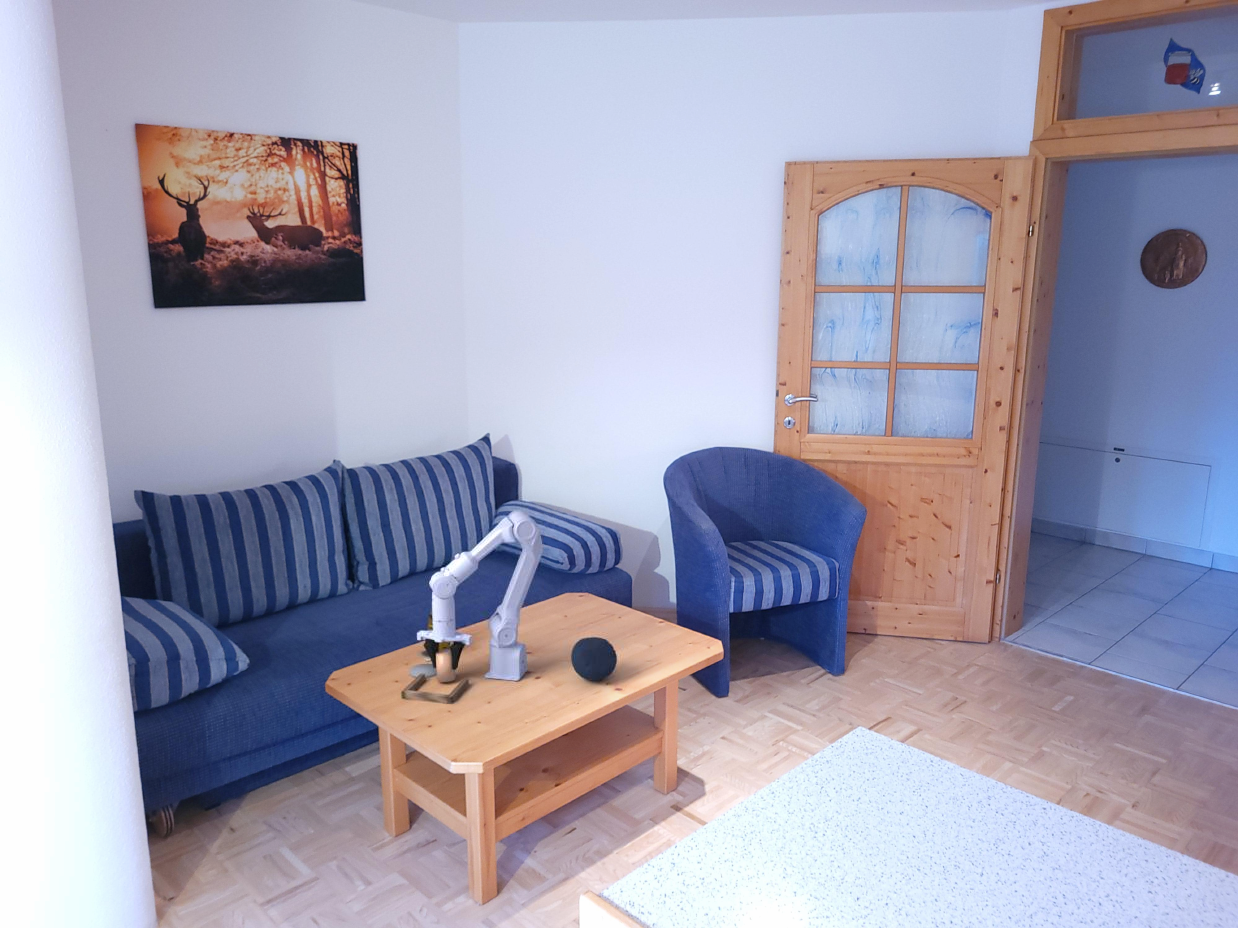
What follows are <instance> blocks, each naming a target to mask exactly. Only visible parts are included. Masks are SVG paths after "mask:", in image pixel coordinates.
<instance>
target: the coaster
mask: <svg viewBox="0 0 1238 928" xmlns="http://www.w3.org/2000/svg"><path fill="white" fill-rule="evenodd" d="M408 672H409V676H411V677H412V676H413V677H412V678H414V679H415V678H416V677H418V676H419V675H420V674H425V679H428V678H432V677H435V676H437V673H436V668H433V665H432V663H420V664H417V665H414V666H412V667H411V668H410V669H409V670H408Z"/></svg>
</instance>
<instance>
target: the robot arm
mask: <svg viewBox="0 0 1238 928" xmlns="http://www.w3.org/2000/svg"><path fill="white" fill-rule="evenodd" d="M541 532H542V530H541V528H540V527H539V525H538V524H537V522H536V521H535V520H534V519H533V518H531V517H530V515H529V513H527V512H526V511H525V510H522V509H515V510H513V511H511V512H510V513H509V514H508V516H506V517H504V518H502V519H501V521H500V522H499V523H498V524H497V525H496V526H495V527H494V528H493V529H492V530H491V531H490V532H489V533H488V534H487V535H486V536H485V537H484V538H483V539H482V540H481V541H480V542H479V543H478V544H476V546H475V547H474V548H472V549H471V550H470V551H462V552H461V553H460V554H459V553H457V554H455V555H454V559H453V560H451V562H450V563H449V564H447V565H446V566H445V567H442V568H440V571H437V572H435V573H434V574H433V575H432V576H431V578H430V580H429V582H428V583H429V587H430V588H431V590H432V592H431V593H432V594H431V599H432V601H431V612H432V616H433V630H432V631H428V630H418V632H416V639H417V641H422V640H425V641H424V643H423V648H424V649H425V650H426V651H427V652H428V654H429V656H430V659H431V660H430V661H431V664H432V665H433V668H436V652H438V651H439V642H443V641H444V642H450V643H452V644H450V651H451V655H452V669H453V670H455V671H456V670H458V668H459V662H460V659H461V655H462V652H463V649H464V648H465V645H466V646H470V645H471V644H472V643H473V635H472V634H471V635H470V634H467V633H462V632H459V631H456V612H455V611H456V607H455V605H456V604H455V598H454V597H455V596H454V595H455V593H456V591H457V588H458V586H459V585H461V583H463V582H464V581H465V580H467V579H468V578H469V577H470V576H471V575H472V574H473V573H475V572H476V571H477V570H478V568H479V562H480V561H481V560H482V559H483V558H485V557H486V556H488V555H489V554H490V553H491V552H492V551H494V550H495V549H496V548H497V547H498V546H500V545H502V544H503V543H516V540H515V538H516V539H517V541H518V544H519V545H520V546H521V550H522V551H521V553H520V556H519V557H518V560H517V563H516V566H515V568H514V571H513V574H512V575H511V580H510V582H509V584H508V587H507V589H506V591H505V594H504V597H503V600H502V603H501V604H499V605H498V606H497V608H496V610H495V612H494V613H493V615H491V616H490V618H489V620H488V622H487V628H488V630H489V632H490V633H491V637H490V639H489V644H488V645H489V670H488V672H486V674H485V675H484V678H486V679H487V678H488V679H494V680H504V681H514V682H519V681H520V679H521V678H522V677H523V676H524V674H526V672H527V671H528V669H529V668H528V666H527V663H528V661H527V658H528V656H527V655H528V653H527V646H526V644H525V643H522V642H519V641H518V637H519V631H518V628H519V626H520V620H521V619H520V618H521V617H520V616H521V615H520V612H521V609H522V608H523V605H524V602H525V599H526V597H527V594H528V591H529V588H530V587H531V586H530V585H531V583H532V581H533V578H534V575H535V573H536V570H537V568H538V565H539V562H540V560H541V558H542V555H543V551H544V545H543V541H542V537H541V536H542V535H541Z"/></svg>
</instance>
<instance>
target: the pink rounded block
mask: <svg viewBox="0 0 1238 928" xmlns="http://www.w3.org/2000/svg"><path fill="white" fill-rule="evenodd" d="M436 673H437V675H436V680H437V681H438V682H440V683H449V682H452V681H454V680H455V679H456V670H453V669H452V655H451V651H450V650H448V649H446V650H440V651H438V652H436Z"/></svg>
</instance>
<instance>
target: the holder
mask: <svg viewBox="0 0 1238 928" xmlns="http://www.w3.org/2000/svg"><path fill="white" fill-rule="evenodd" d="M425 681H426V678H425V674H420V675H419V676H418V677H416V678H415V677H414V679H412V681H411V682H410V683H409V684H408V685H407V686H406V687H404V689H402V690H401V695H400V696H401V699H405V700H413V701H421V702H430V703H431V702H432V703H440V704H446V705H447V704H449V705H452V704H453V703H454V702H455V701H456V700H457V698H459V696H460V695H461V694H462V693H463V692H464V691H465V690H466V689H467V688H468V687H469V685H470V683H469V682H470V681H469V678H462V680H460V682H459V683H458V684H457V685H456V686H455V687H454V688H453V690H451V691H450V693H448V694H445V693H437V692H427V691H419V690H417V689H418V688H420V686H422V684H423V683H425Z"/></svg>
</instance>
